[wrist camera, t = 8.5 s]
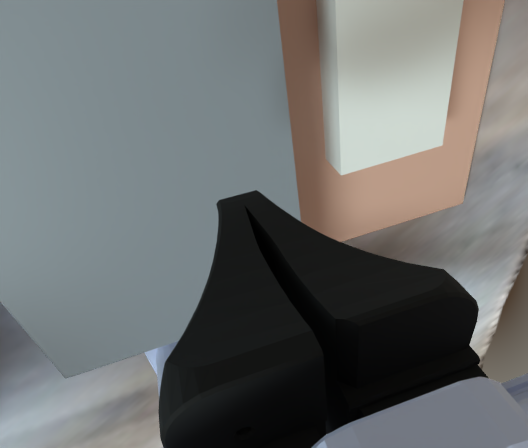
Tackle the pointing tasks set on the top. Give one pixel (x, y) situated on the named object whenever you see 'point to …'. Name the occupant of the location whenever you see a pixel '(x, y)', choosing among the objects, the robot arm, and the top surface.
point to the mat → (392, 172)
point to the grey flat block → (130, 162)
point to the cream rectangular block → (385, 77)
